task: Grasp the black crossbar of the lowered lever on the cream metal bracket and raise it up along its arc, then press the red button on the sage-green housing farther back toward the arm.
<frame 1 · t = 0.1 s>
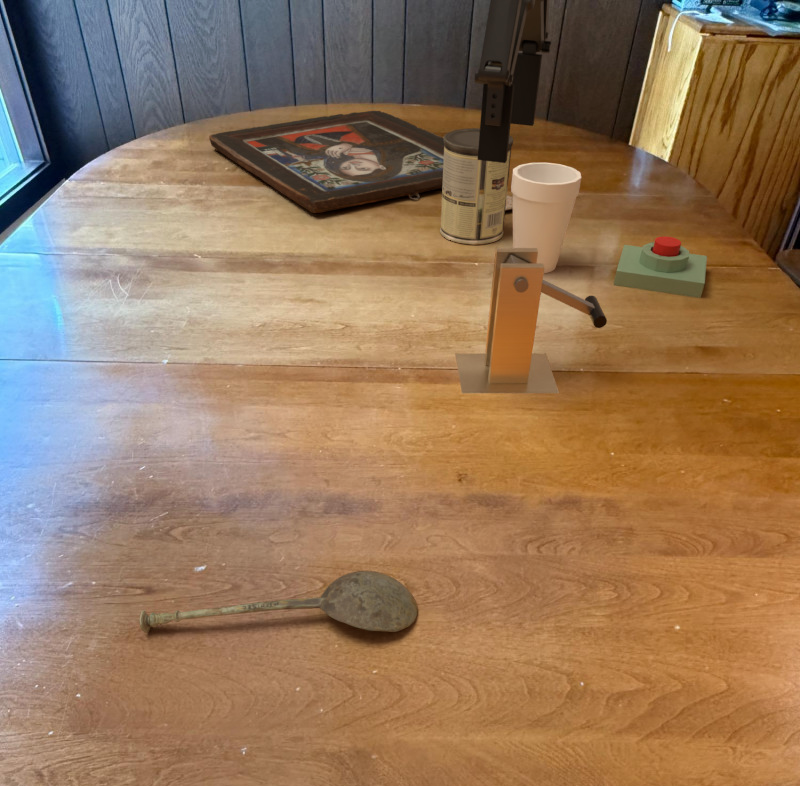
hand: (507, 141, 79), 24 cm above the table, tool pointing down, fingers open, 13 cm apart
button box: (659, 277, 113), on the table
flatbread: (495, 206, 133), on the table
foam cup: (534, 266, 115), on the table
button: (666, 247, 110), point 4 cm above the table, slide at 0.1 cm
bracket: (504, 381, 90), on the table
soupspoon: (283, 619, 63), on the table
lever: (554, 291, 83), point 11 cm above the table, hinge at -25.0°
coffee can: (471, 233, 124), on the table
religious icon: (351, 166, 149), on the table
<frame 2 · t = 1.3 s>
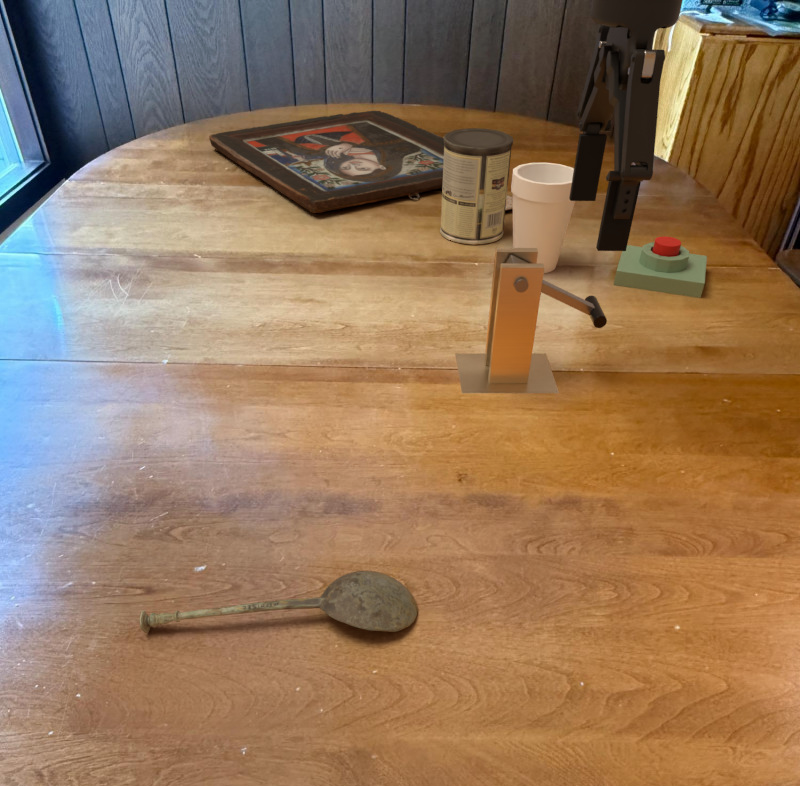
hand: (595, 223, 79), 18 cm above the table, tool pointing down, fingers open, 13 cm apart
nothing on the table moved.
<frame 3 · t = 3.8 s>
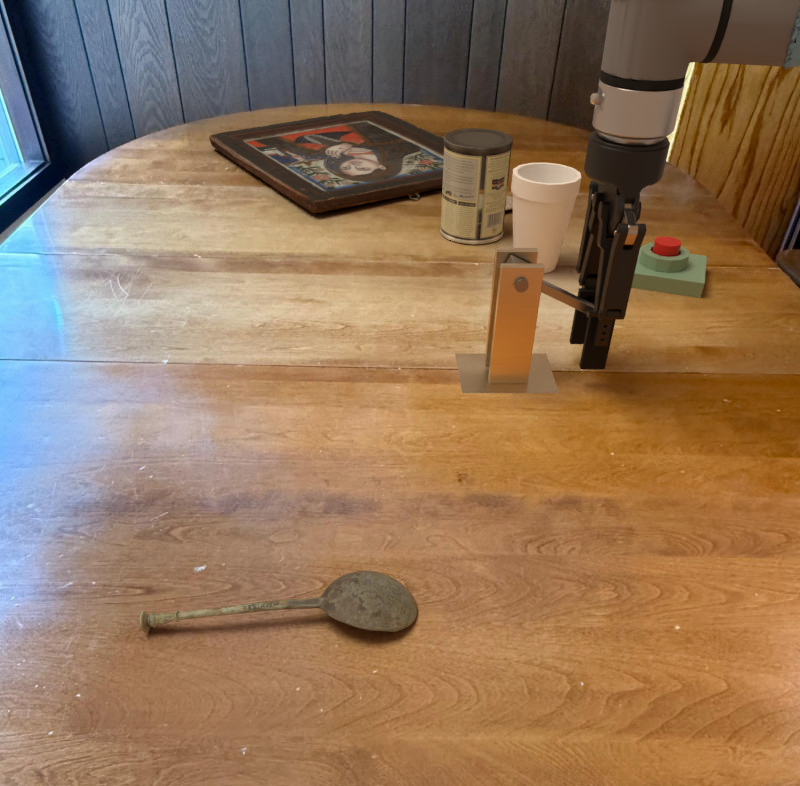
hand: (586, 354, 88), 4 cm above the table, tool pointing down, fingers closed on lever, 5 cm apart
lever: (554, 291, 83), point 11 cm above the table, hinge at -25.0°, touching gripper
everything else where it was.
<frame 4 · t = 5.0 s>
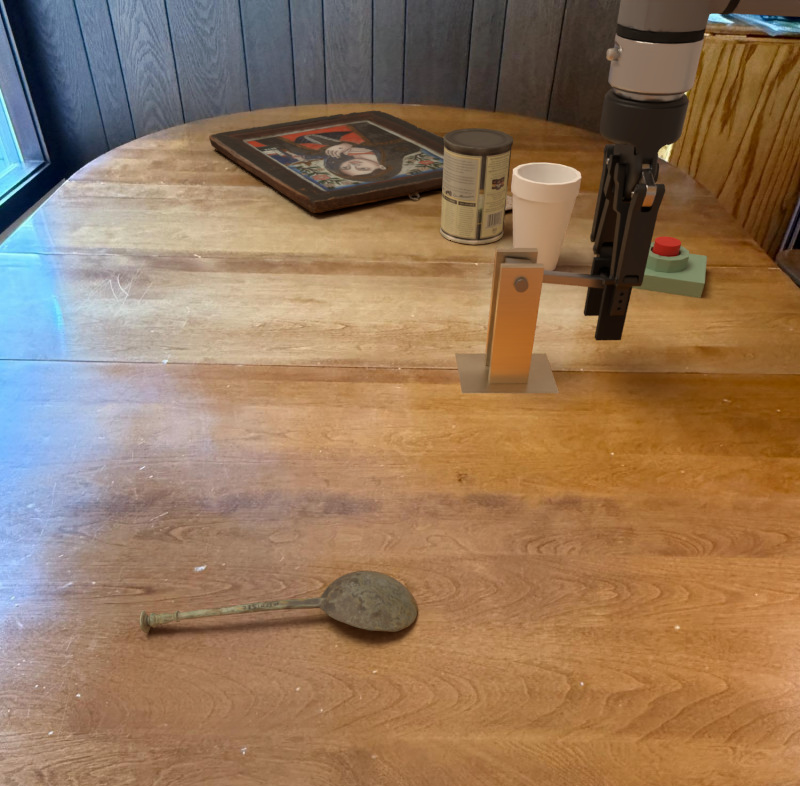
hand: (601, 325, 86), 7 cm above the table, tool pointing down, fingers closed on lever, 5 cm apart
lever: (560, 278, 82), point 13 cm above the table, hinge at -5.1°, touching gripper
everything else where it was.
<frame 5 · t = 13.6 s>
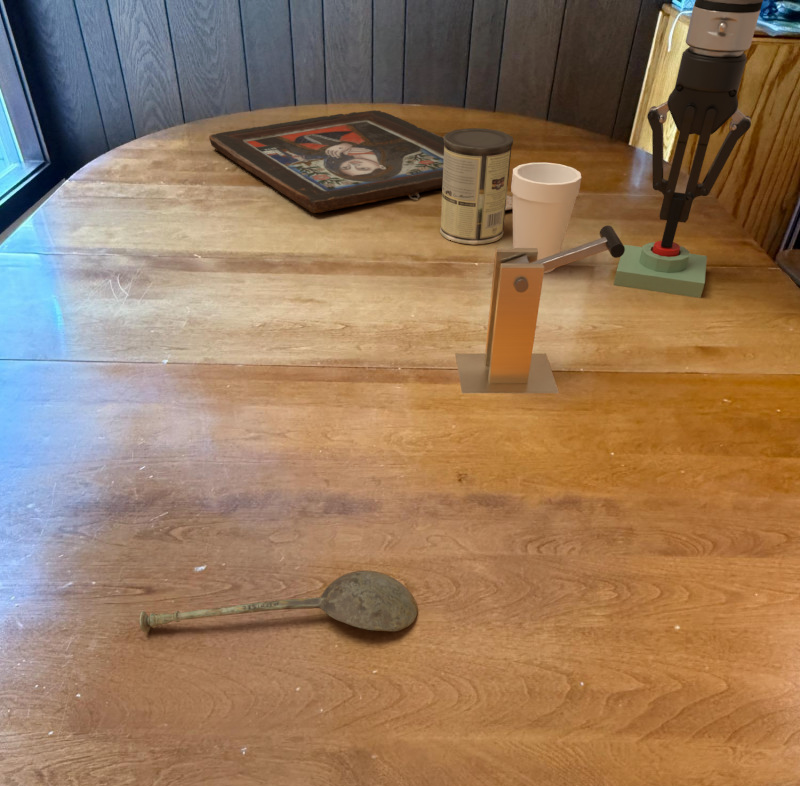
hand: (666, 243, 109), 5 cm above the table, tool pointing down, fingers closed
button: (665, 251, 110), point 4 cm above the table, slide at -0.5 cm, touching gripper
lever: (560, 259, 81), point 15 cm above the table, hinge at 20.6°
everything else where it was.
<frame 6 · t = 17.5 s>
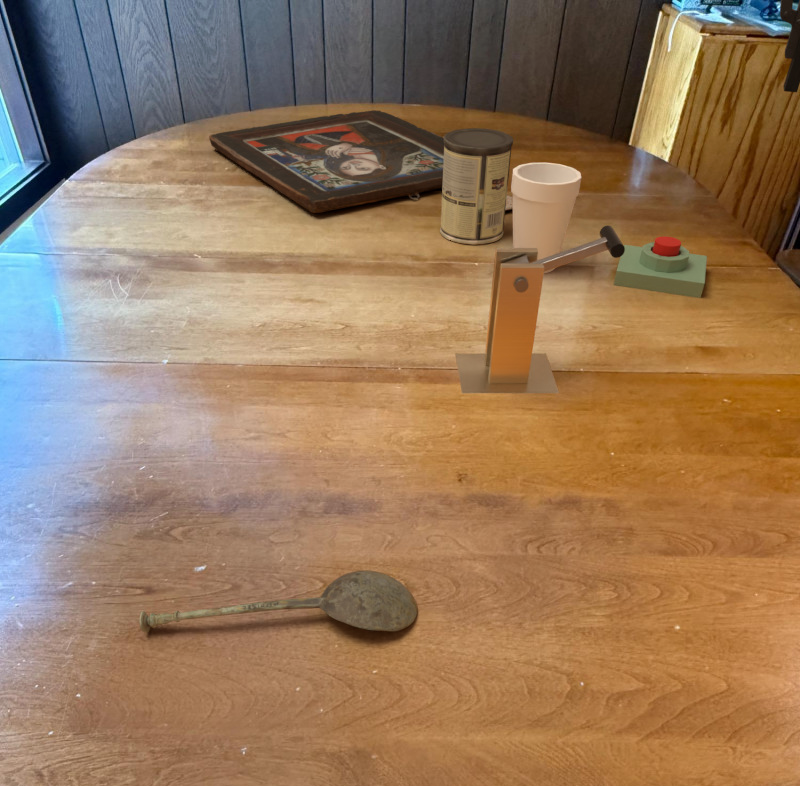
hand: (790, 89, 97), 24 cm above the table, tool pointing down, fingers closed
button: (666, 247, 110), point 4 cm above the table, slide at 0.1 cm
everything else where it was.
at the end: lever at +21° (first picture: -25°); button pushed in 1.0 cm at the most during the clip, back to where it started at the end; button slide at 0.1 cm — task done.
